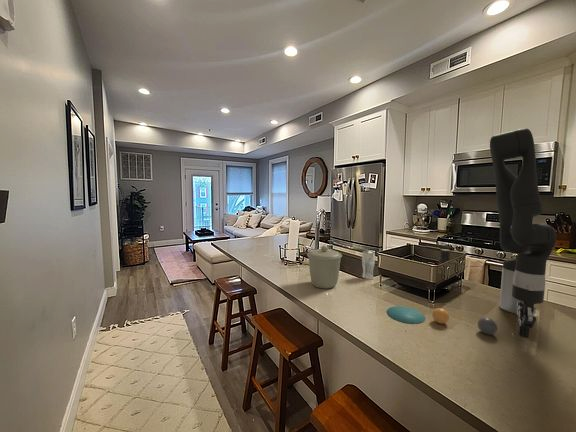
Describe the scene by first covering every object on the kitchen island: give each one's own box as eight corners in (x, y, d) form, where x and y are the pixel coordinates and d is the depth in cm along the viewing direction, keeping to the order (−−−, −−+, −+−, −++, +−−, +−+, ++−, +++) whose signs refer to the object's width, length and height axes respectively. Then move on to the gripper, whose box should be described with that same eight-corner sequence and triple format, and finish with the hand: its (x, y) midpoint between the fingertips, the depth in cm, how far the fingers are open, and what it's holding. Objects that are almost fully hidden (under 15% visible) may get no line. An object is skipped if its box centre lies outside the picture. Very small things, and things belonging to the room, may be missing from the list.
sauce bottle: (453, 291, 126) (455, 251, 124) (439, 290, 127) (441, 251, 125) (447, 286, 132) (450, 248, 130) (434, 285, 134) (436, 248, 132)
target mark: (426, 311, 105) (426, 311, 105) (423, 327, 93) (423, 327, 93) (390, 303, 112) (390, 303, 112) (383, 317, 100) (383, 317, 100)
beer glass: (374, 276, 148) (375, 251, 146) (374, 280, 141) (375, 253, 140) (361, 275, 150) (362, 250, 149) (361, 279, 144) (361, 252, 142)
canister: (346, 282, 138) (347, 244, 136) (333, 294, 123) (334, 251, 120) (316, 276, 147) (316, 241, 145) (300, 287, 132) (300, 247, 130)
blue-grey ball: (495, 331, 90) (496, 317, 90) (498, 339, 85) (499, 324, 85) (476, 327, 93) (477, 313, 92) (477, 334, 88) (478, 319, 88)
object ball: (448, 321, 97) (449, 307, 97) (448, 328, 93) (449, 313, 92) (432, 317, 100) (432, 304, 100) (431, 323, 96) (432, 309, 95)
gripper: (509, 277, 90) (504, 324, 92) (517, 289, 79) (512, 342, 80) (538, 281, 86) (533, 330, 88) (551, 294, 75) (545, 350, 76)
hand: (523, 336), depth 84 cm, fingers closed
